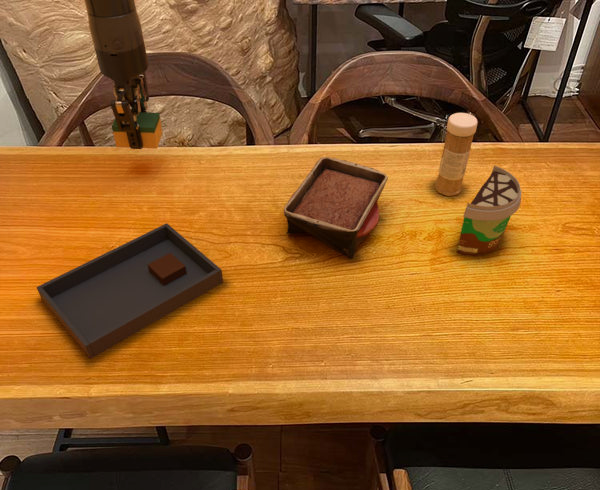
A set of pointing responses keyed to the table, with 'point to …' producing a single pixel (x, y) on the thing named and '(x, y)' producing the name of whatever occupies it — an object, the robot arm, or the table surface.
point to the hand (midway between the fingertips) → (140, 138)
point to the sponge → (142, 131)
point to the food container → (489, 214)
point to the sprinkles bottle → (455, 153)
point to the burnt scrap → (167, 269)
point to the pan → (126, 289)
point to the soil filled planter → (337, 203)
